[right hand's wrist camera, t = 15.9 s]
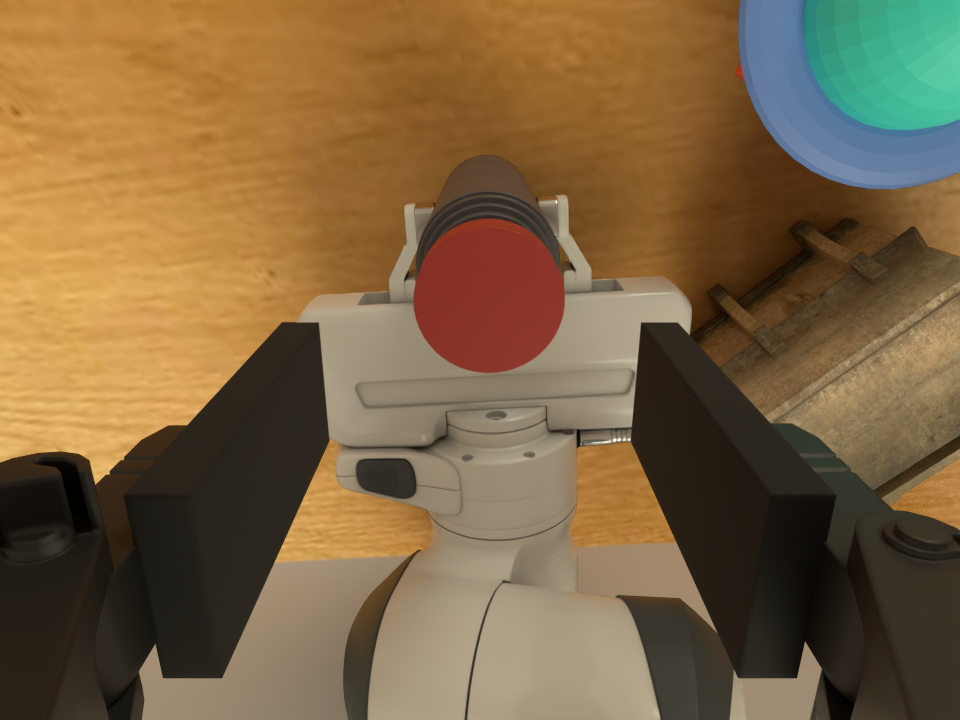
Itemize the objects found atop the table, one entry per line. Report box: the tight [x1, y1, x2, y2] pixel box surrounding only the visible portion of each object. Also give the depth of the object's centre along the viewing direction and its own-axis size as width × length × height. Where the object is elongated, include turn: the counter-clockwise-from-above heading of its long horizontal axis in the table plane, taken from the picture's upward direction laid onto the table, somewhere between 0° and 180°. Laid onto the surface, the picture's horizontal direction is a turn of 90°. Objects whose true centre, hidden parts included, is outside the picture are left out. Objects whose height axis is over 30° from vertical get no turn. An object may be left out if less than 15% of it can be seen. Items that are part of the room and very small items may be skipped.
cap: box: [413, 219, 565, 373], centre depth 20 cm, size 4×4×2 cm
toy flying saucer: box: [734, 0, 960, 189], centre depth 29 cm, size 15×15×14 cm
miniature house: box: [691, 218, 960, 506], centre depth 37 cm, size 15×14×11 cm
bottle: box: [416, 155, 560, 276], centre depth 29 cm, size 5×5×21 cm
